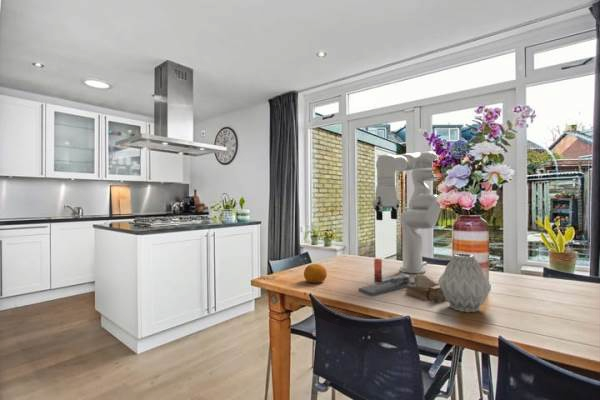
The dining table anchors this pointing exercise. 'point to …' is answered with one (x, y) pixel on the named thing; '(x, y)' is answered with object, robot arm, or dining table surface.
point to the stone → (423, 281)
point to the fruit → (315, 273)
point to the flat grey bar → (385, 287)
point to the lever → (379, 280)
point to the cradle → (426, 292)
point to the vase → (464, 283)
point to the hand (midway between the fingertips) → (386, 219)
